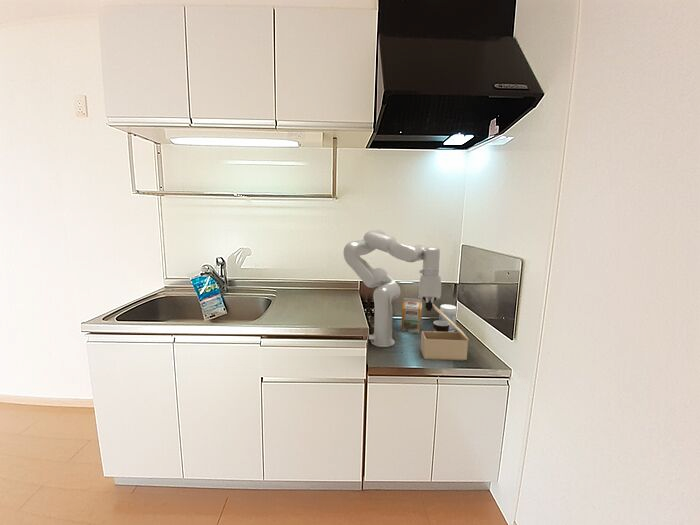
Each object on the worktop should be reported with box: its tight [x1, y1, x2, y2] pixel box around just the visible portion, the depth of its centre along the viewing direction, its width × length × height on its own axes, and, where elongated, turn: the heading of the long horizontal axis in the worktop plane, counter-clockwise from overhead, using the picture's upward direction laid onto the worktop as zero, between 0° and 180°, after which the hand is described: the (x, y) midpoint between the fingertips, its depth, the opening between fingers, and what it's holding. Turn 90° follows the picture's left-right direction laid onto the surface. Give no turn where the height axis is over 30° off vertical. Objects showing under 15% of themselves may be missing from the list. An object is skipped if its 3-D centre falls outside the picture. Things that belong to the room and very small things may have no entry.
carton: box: [420, 330, 469, 361], centre depth 167 cm, size 20×11×10 cm, turn 87°
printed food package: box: [400, 297, 423, 335], centre depth 201 cm, size 11×11×19 cm
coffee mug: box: [432, 320, 450, 332], centre depth 187 cm, size 12×9×10 cm
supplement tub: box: [438, 303, 457, 332], centre depth 201 cm, size 10×10×15 cm
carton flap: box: [432, 302, 470, 341], centre depth 165 cm, size 22×11×1 cm
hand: (428, 310), depth 165 cm, fingers closed
